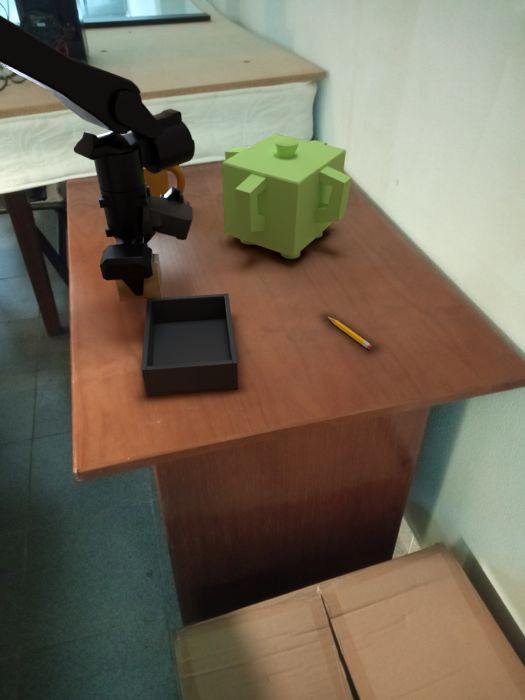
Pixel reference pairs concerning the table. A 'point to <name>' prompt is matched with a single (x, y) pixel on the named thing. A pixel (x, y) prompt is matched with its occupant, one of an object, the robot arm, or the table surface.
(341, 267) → the table surface
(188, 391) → the bin
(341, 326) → the pencil
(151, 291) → the package
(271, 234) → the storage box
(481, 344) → the table surface
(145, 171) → the mug
